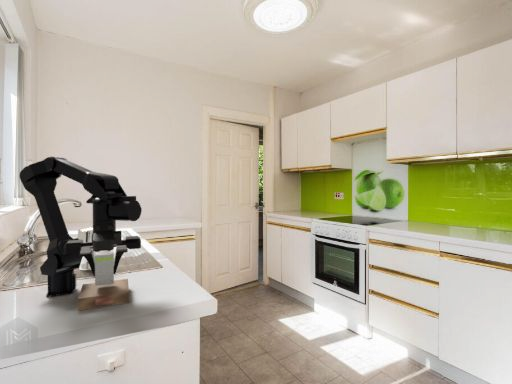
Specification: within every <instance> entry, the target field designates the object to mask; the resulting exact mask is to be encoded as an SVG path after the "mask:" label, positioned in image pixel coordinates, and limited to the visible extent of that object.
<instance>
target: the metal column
mask: <svg viewBox="0 0 512 384" xmlns="http://www.w3.org/2000/svg"><path fill="white" fill-rule="evenodd" d="M114 253H115V252H114V251H103V252H102V251H101V252H97V253H96V255H95V277H94V279H95V280H94V281H95V282H94V283H95V286H98V285H106V284H114V280H115V274H114V262H115V255H114Z"/></svg>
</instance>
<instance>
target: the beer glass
mask: <svg viewBox="0 0 512 384" xmlns="http://www.w3.org/2000/svg"><path fill="white" fill-rule="evenodd" d="M92 234H93V227H87V228H80V229H77V238H78V239H79V240H83V243H85V242H92ZM96 253H98V252H94V258H95V255H96ZM78 269H79V271H92V270H91V268H90V265H89V263H88V261H87V260H86V258H85V257H84V256H83V257H82V260H81V264H80V267H79V268H78Z"/></svg>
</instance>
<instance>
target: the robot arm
mask: <svg viewBox="0 0 512 384" xmlns="http://www.w3.org/2000/svg"><path fill="white" fill-rule="evenodd" d="M62 176H64V177H66V178H68V179H70V180H73V181H75V182H76V183H79V184H80V185H82V187H83V189H84V190H85V191H86V192H88V193H89V194H91V196H90V198H88V199H87V200H86V204H92V228H93V234H92V242H85V243H83V240H79V239H78V237H77V238H73V237H72V236H70V233H69V232H68V228H67V226H66V223H65V220H64V216H63V214H62V211H61V209H60V204H59V202H58V200H57V197H56V194H55V190H56V187H57V185H58V182H57V180H58V179H59V178H61V177H62ZM19 180H20V182H21V183H22V186H23V188H24V189H25V190H26V191H27V192H28V193H29V194H30V195H32V196H33V197H34V200H35V202H36V206H37V208H38V211H39V214H40V217H41V220H42V223H43V226H44V229H45V231H46V234H47V237H48V240H49V243H48V246H47V249H46V257H47V259H46V260H45V261H44V262H43V263H42V265H41V266H40V267H39V269H40V273H41V275H42V276H47V293H46V297H55V296H64V295H70V294H73V293H74V291H75V290H76V289H77V287H78V286H77V285H78V284H77V273H75V270H77V269H79V267H80V264H81V260H82V257H83V256H84V257H85V258H86V260H87V261H88V263H89V265H90V268H91V270H90V271H91V272H92V275H93V277H94V278H95V258H94V252H97V253H100V252H102V251H103V252H112V251H113V250H114V249H115V255H114V275H116V274H117V273H116V272H117V269H118V267H119V264H120V261H121V258H122V256H123V255H124V253H128V251H129V250H137V249H141V248H142V240H141V238H140V236H138V235H133V236H131V235H130V236H125V239H122V230H117V229H116V227H117V226H116V225H117V223H116V221H124V222H136V221H138V220H139V219H140V217H141V215H142V211H143V210H142V206H141V204H140V203H139V201H138V200H137V196H136V195H127V193H126V192H125V190H124V189H123V187H122V186H121V183H120V182H119V178H118V177H117V176H115V175H111V174H107V173H102V172H96V171H94V170H93V171H92V170H90V169H89V168H86V167H83V166H82V165H78V164H76V163H74V162H72V161H70V160H68V159H67V158H65V157H62V156H61V157H59V156H48V157H46V158H44V159H42V160H40V161H37V162H34V163H31V164H28V165H27V166H24V168H22V169H21V170H20V172H19Z"/></svg>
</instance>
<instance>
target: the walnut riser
mask: <svg viewBox="0 0 512 384" xmlns="http://www.w3.org/2000/svg"><path fill="white" fill-rule="evenodd" d="M129 289H130V288H129V279H128V278H125V279H124V278H122V279H114V284H106V285H98V286H95V282H92V283H83V284H82V285H81V287H80V291H79V294H78V297H77V311H82V310H83V311H84V310H90V309H96V308H103V307H104V308H105V307H108V306H116V305H121V304H122V305H123V304H127V303H128V304H129V303H130V290H129Z"/></svg>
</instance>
